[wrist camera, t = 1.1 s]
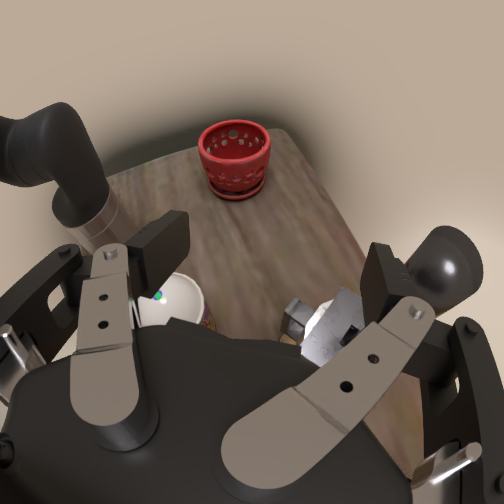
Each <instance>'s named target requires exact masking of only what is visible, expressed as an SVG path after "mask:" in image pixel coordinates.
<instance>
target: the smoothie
mask: <svg viewBox="0 0 504 504" xmlns="http://www.w3.org/2000/svg"><path fill="white" fill-rule="evenodd" d="M138 302H139V306H140V313H141V319H142V325H143V327H144V326H150V325H166V323H167V322H168V320H169V319H170V317H175V318H178V319H182V320H186V321H189V322H193V323H197V324H201V325H203V326H205V327H207V328H209V329H211V330H213V331H215V332H216V325H215V323H214V321H213V318H212V316H211V314H210V312H209V309H208V307H207V305H206V302H205V300H204V297H203V294H202V292H201V289H200V287H199V286H198V285H197V284H196V282H195V281H194V280H193V279H191V278H190V277H188V276H186V275H184V274H180V273H176V272H174V273H173V274H172V275H171V276H170V277H169V278H168V280H167V281H166V282H165V283H164V284H163V286H162V287H161V288H160V289H159V291H158V292H157V293H156V294H155V296H154V297H153V298H152V299H148V298H145V297H141V296H140V297H139V298H138Z"/></svg>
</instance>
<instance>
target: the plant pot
mask: <svg viewBox="0 0 504 504" xmlns="http://www.w3.org/2000/svg"><path fill="white" fill-rule="evenodd" d="M230 130H236V131H237V132H238V136H237V137H234V138H233V137H230V136H229V135H228V132H229V131H230ZM221 133H225V135H224V136H220V135H221ZM244 133H246V134H248V137H246V136H245V135H244ZM214 136H215V140H214V141H211V140H212V137H214ZM255 137H257V138H258V139H259V142H258V141H257V140H256V139H255ZM239 139H243V140H244V143H243V144H241V143H239ZM223 140H227V143H226V144H225V145H222V144H221V143H222V141H223ZM249 142H251V143H252V146H250V145H249ZM216 143H217V146H216V147H214V145H215V144H216ZM262 146H263V148H262ZM208 147H209V148H210V154H208V153H207V152H206V151H207V148H208ZM198 149H199V155H200V159H201V162H202V165H203V167H204V169H205V172H206V174H207V176H208V184H209V186H210V188H211V190H212V191H213V192H214V193H215V194H217V195H218V196H220V197H222V198H225V199H230V200H238V199H244V198H247V197H250V196H252V195H253V194H255V193H256V192H257V191H259V190H260V188H261V187H262V185H263V183H264V181H265V171H266V169H267V166H268V163H269V157H270V149H271V139H270V136H269V134H268V132H267V131H266V130H265V129H264V128H263V127H262V126H260V125H258V124H256V123H254V122H250V121H245V120H229V121H223V122H220V123H217V124H215V125H213V126H211V127H209V128H208V129H206V130H205V131H204V132H203V133H202V135H201V137H200V138H199V142H198Z"/></svg>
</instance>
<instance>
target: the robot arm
mask: <svg viewBox="0 0 504 504" xmlns="http://www.w3.org/2000/svg"><path fill="white" fill-rule="evenodd" d="M52 180H55V181H56V182H57V184H58V185H59V188H58V189H57V191H56V193H55V195H54V198H53V201H52V210H53V213H54V215H55V216H56V218H57V219H58V220H59V221H60V222H61V224H62V225H63V226H64V227H65V228H66V229H67V230H68V231H69V232H70V233H71V234H72V235H73V236H74V237H75V238H76V239H77V240H78V241H79V243H80V244H81V245H82V246H83V247H84V248H85V249H86V250H87V251H88V252H89V253H90V254H91V255H92V256H82V255H81V251H80V248H79V246H78V245H76V244H67V245H63V246H60V247H58V248H57V249H55V250H54V251H53V252H51V253H50V254H49V255H48V256H47V257H45V258H44V259H43V260H42V261H40V262H39V263H38V264H37V265H36V266H34V267H33V268H32V269H31V270H30V271H29V272H28V273H26V274H25V275H24V276H23V277H22V278H21V279H20V280H19V281H17V282H16V283H15V285H13V286H12V287H11V288H10V289H9V290H8V291H7V292H6V293H5V294H4V295H3V296H2V297H0V401H1V402H3V404H4V405H6V406H7V407H8V411H7V415H6V419H5V422H4V425H3V427H2V430H1V432H0V504H504V389H503V385H502V382H501V378H500V375H499V372H498V369H497V366H496V362H495V360H494V357H493V354H492V351H491V348H490V346H489V343H488V340H487V338H486V335H485V333H484V330H483V329H482V328H481V326H480V325H479V324H478V323H477V322H475V321H474V320H473V319H471V318H468V317H459V318H458V319H456V321H455V323H454V325H453V326H450V325H448V324H445V323H443V322H440V321H438V320H436V319H435V312H434V310H433V308H432V307H431V306H430V305H429V304H428V303H427V302H426V301H424V300H422V299H420V298H418V296H417V293H416V290H415V288H414V285H413V283H412V281H411V278H410V275H409V273H408V270H407V268H406V266H405V265H404V264H403V263H402V261H400V259H399V258H394V255H393V253H392V250H391V248H390V246H389V245H386V244H381V243H375V242H372V243H371V245H370V249H369V252H368V256H367V259H366V262H365V265H364V269H363V272H362V275H361V281H360V291H361V299H362V307H363V315H364V325H365V329H364V330H363V331H362V332H361V333H360V334H359V335H357V336H356V337H355V338H354V339H353V340H352V341H351V342H350V343H349V344H348V345H346V346H345V347H344V348H343V349H342V350H341V351H340V352H339V353H337V354H336V355H335V356H334V357H333V358H332V359H330V360H329V361H328V362H327V363H326V364H324V365H323V366H322V367H320V366H318V365H317V364H315V363H314V362H312V361H310V360H308V359H306V358H304V357H301V356H300V355H301V348H302V346H299V345H293V344H287V343H282V342H277V341H272V340H249V339H230V338H227V337H225V336H223V335H221V334H219V333H217V332H215V331H213V330H211V329H209V328H207V327H205V326H203V325H201V324H197V323H193V322H189V321H186V320H182V319H178V318H175V317H170V319H169V320H168V322H167V323H166V325H150V326H144V327H143V325H142V319H141V313H140V306H139V302H138V298H139V297H140V296H141V297H145V298H148V299H152V298H153V297H154V296H155V294H156V293H157V292H158V291H159V289H160V288H161V287H162V286H163V284H164V283H165V282H166V281H167V280H168V278H169V277H170V276H171V275H172V274H173V272H174V271H175V270H176V269H177V267H178V266H179V265H180V264H181V263H182V261H183V260H184V259H185V258H186V257H187V255H188V253H189V249H190V231H189V216H188V213H187V212H184V211H176V210H170V211H169V212H167V213H166V214H165V215H163V216H162V217H161V218H160V219H157V220H155V221H153V222H150V223H149V224H147V225H146V226H145V227H144V228H143V229H141V230H140V231H139V230H138V229H137V227H136V226H135V224H134V223H133V221H132V220H131V218H130V217H129V215H128V214H127V212H126V211H125V209H124V207H123V206H122V204H121V203H120V201H119V200H118V198H117V196H116V195H115V193H114V192H113V190H112V188H111V187H110V185H109V184H108V182H107V180H106V178H105V175H104V171H103V168H102V164H101V162H100V159H99V157H98V155H97V153H96V151H95V149H94V147H93V144H92V142H91V141H90V138H89V136H88V133H87V131H86V128H85V126H84V125H83V122H82V120H81V118H80V116H79V115H78V113H77V112H76V111H75V110H74V109H73V108H72V107H71V106H70V105H69V104H67V103H63V102H59V103H55V104H52V105H50V106H47V107H45V108H43V109H42V110H39V111H37V112H35V113H33V114H31V115H29V116H28V117H26V118H24V119H20V120H14V119H9V118H5V117H2V116H0V181H1V182H4V183H7V184H10V185H14V186H18V187H33V186H37V185H40V184H43V183H46V182H49V181H52ZM59 284H60V286H61V289H62V291H63V294H64V296H65V297H64V299H63V300H62V301H61V302H60V303H59V304H58V305H57V306H56V307H55V308H54V309H53V310H52V311H50V309H49V307H48V303H47V301H48V296H49V295H50V293H51V292H52V291H53V290H54V289H55V288H56V287H57V286H58V285H59ZM77 328H78V332H77V348H76V351H75V352H74V353H73V354H72V355H69V356H67V357H65V358H62V359H59V360H56V361H54V362H51V361H52V360H53V359H54V357H55V356H56V355H57V353H58V352H59V350H60V349H61V348H62V347H63V346H64V344H65V343H66V342H67V340H68V339H69V338H70V337H71V335H72V334H73V333H74V331H75V330H76V329H77ZM401 372H403V373H406V374H409V375H411V376H414V377H417V378H420V387H421V397H422V410H423V429H424V460H422V461H421V462H420V463H419V464H418V465H417V467H416V469H415V471H414V473H413V478H412V480H411V482H410V484H409V481H408V480H407V478H406V477H405V475H404V474H403V472H402V471H401V470H400V468H399V467H398V466H397V464H396V463H395V462H394V460H393V459H392V458H391V457H390V455H389V454H388V453H387V451H386V450H385V449H384V447H383V446H382V445H381V443H380V442H379V441H378V439H377V438H376V437H375V435H374V434H373V433H372V431H371V430H370V429H369V427H368V426H367V425H366V423H365V422H364V421H363V420H364V418H365V417H366V416H367V415H368V414H369V413H370V412H371V410H372V409H373V408H374V407H375V406H376V404H377V403H378V402H379V401H380V400H381V398H382V397H383V396H384V395H385V393H386V392H387V391H388V390H389V388H390V387H391V386H392V384H393V383H394V382H395V380H396V379H397V378H398V376H399V375H400V374H401ZM457 377H458V379H459V392H458V393H457V388H456V383H455V379H456V378H457Z"/></svg>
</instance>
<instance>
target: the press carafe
mask: <svg viewBox="0 0 504 504" xmlns="http://www.w3.org/2000/svg"><path fill="white" fill-rule="evenodd" d="M350 327H351V328H353V329H354V330H355V331H357V332H359V331H360V330H361V329H363V328H364V327H365V325H364V315H363V307H362V299H361V297H359V296H358V295H356V294H355V293H353V292H352V291H350V290H349V289H348V288H346V287H345V286H343V287H342V289H341V290H340V291H339V293H338V294H337V296H336V297H335V299H333V300H331V301H328V302H326V303H324V304H321V305H320V307H319V308H318V309H317V311H316V312H315V311H313V310H312V309H310V308H309V307H308V306H306V305H305V304H303V303H302V302H301V301H299V300H298V299H297V298H294V300H293V301H292V302H291V303H290V305H289V306H288V307H287V308H286V309H285V311H284V315H283V320H282V325H281V329H280V331H282V332H283V333H284V334H283V335H282V337H281V339H280V341H279V342H282V343H287V344H293V345H299V346H302V348H301V355H300V356H301V357H304V358H306V359H308V360H310V361H312V362H314V363H315V364H317V365H318V366H320V367H322V366H323V365H324V364H326V363H327V362H328V361H329V360H330V359H332V358H333V357H334V356H335V355H336V354H337V353H339V352H340V351H341V350H342V349H343V348H344V347H343V346H341V345H340V344H339V342H340V341H341V339H342V338H343V336H344V335H345V334H346V332H347V331H348V329H349V328H350Z"/></svg>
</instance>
